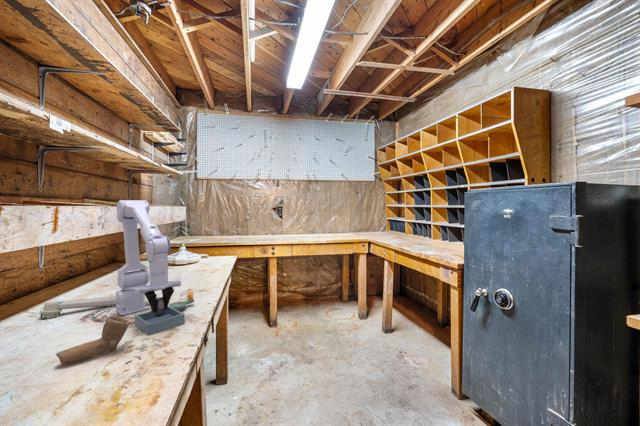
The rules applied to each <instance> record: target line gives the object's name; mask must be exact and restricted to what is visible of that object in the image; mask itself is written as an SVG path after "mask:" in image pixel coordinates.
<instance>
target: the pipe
mask: <svg viewBox="0 0 640 426" xmlns="http://www.w3.org/2000/svg"><path fill="white" fill-rule="evenodd" d="M130 323H131V322H130V320H128V319H125V318H123V317H118V316H107V317H106V319H105V322H104V324H103V327H102V331H101V337H100V338H98V339H95V340H91V341H88V342H84V343H81V344H79V345H76V346H73V347H70V348H67V349H65V350H61V351H59V352H57V353H55V355H56V357H57V358H58V359H59V363H60V364H61V365H62V366H63V365H65V364H66V365H67V364H70V363H74V362H78V361H80V360H83V359H88V358H91V357H95V356H99V355H103V354H106V353H111V352H112V353H113V352H116V351H117V348H118V346H119V343H121V341H122V339H123V337H124V335H125V333H126V331H127V329H128V328H129V325H130Z"/></svg>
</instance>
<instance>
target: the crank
mask: <svg viewBox="0 0 640 426" xmlns="http://www.w3.org/2000/svg"><path fill="white" fill-rule="evenodd" d="M192 303H193V304H194V303H195V299H194V291H193V290H188V291H187V299H186V300H183V301H176V302H175V301H174V302H171V303H169V304H168V307H169V306H171V307H173V308H174V309H176V310H179V309H182V308H184V309H185V308H186V306H187V305H188V306H189V305H190V304H192Z"/></svg>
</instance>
